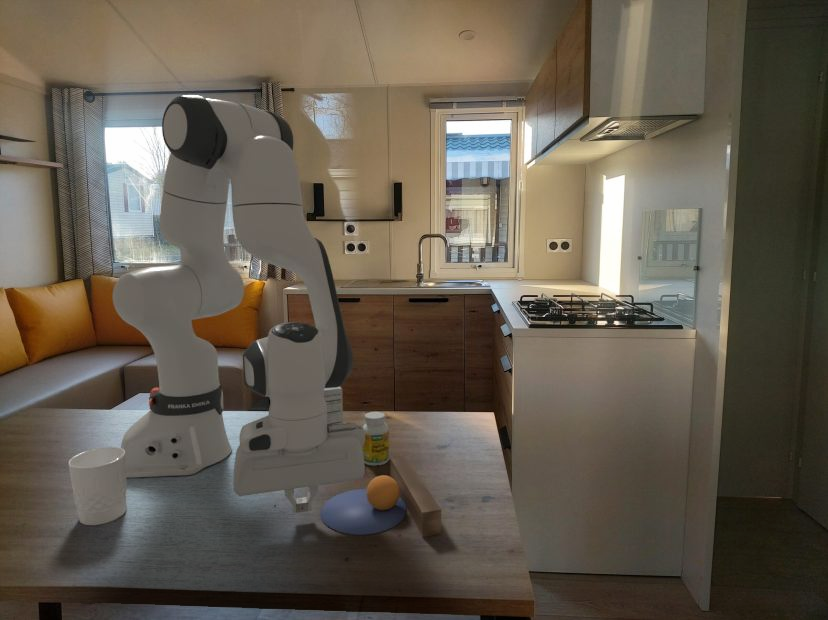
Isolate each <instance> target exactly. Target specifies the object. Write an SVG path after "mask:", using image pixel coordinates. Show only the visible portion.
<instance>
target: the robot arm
mask: <svg viewBox="0 0 828 620" xmlns="http://www.w3.org/2000/svg"><path fill="white" fill-rule="evenodd" d="M161 123H162V124H161V132H162V138H163V141H164V143H165V146H166V147H167V149H168V151H169V153H170V154H169V157H168V161H167V165H166V168H165V174H164V179H163V186H162V187H163V188H162V197H161V205H160V213H159V214H160V215H159V222H158V223H159V224H158V227H159V230H160V233H161V235H162V236H163V238H164V239H165V240H166V241H167V242H168V243H169V244H171V245H172V246H174V247H176V248H177V249H179V251H180V262H179V264H175V265H173V264H172V265H157V266H147V267H144V268H140V269H135V270H132V271H129V272H127V273H123V274H122V275H120V277H119V278H118V279H117V281H116V282H115V284H114V286H113V289H112V303H113V306H114V309H115V311H116V313H117V315H118V316H119V317H120V318H121V320H123V322H126V324H128V325H130V326H132V327H133V328H135V329H136V330H138V331H139V332H140V333H141V334H142V335H143V336H144V337H145V338H146V340H147V341H148V343H149V345H150V346H151V348H152V351H153V354H154V357H155V363H156V367H157V374H158V375H157V376H158V384H159V387H154V388H152V389H151V391H150V392H149V398H148V405H149V409H150V410H149V411H148V412H147V413H146V414H144V415H142V417H141V418H140V419H138V420H137V421H136V422H133V424H132V425H131V426H130V427H128V429H127V430H126V431H125V434H124V435H123V437H122V439H121V444H120V445H121V446H120V448H122V449H124V450H125V457H126V479H129V478H143V477H144V478H148V477H149V478H151V477H173V476H191V475H194V474H196V473H199V472H200V471H202V470H203V469H205V468H207V467H209V466H212V465H215V464H217V463H218V462H221V461H222V460H224V459H226V458H227V457H228V456H229V455H230V454H231V453H232V449H233V448H232V445H231V444H230V441H229V438H228V435H227V431H226V428H225V427H226V426H225V421H224V418H223V417H224V416H223V411H224V393H223V392H224V391H223V387H222V385H221V384H220V376H219V362H218V359H219V358H218V351H217V349H216V348H215V346H214V345H213V344H212V343H210V341H208V340H206V339H203V338H201V337H198V336H197V335H196V333H195V331H194V327H193V322H192V320H197V319H198V320H199V319H204V318H211V317H215V316H216V317H217V316H219V315H222V314H224V313H226V312H229V311H231V310H233V309H235V308H237V307H238V306H240V304H241V302H242V301H243V298H244V294H245V284H244V281H243V278H242V275H241V274H240V273H239V271H238V270H237V269H236V268H235V267H234V266H233V265H232V264H231V263H230V261H229V259H228V257H227V254H226V251H225V250H226V249H225V245H224V232H225V231H224V230H225V222H226V213H227V206H228V198H229V189H230V185H231V210H232V222H233V227H234V231H235V232H234V233H235V237H236V239H237V242H238V243H239V244H240V246H241V247H242V248H243V249H244V250H245V251H246V252H247V253H248V254H250V256H252V257H254V258H255V259H257V260H259V261H261V262H264V263H267V264H269V265H271V266H272V265H273V266H275V267H278V268H281V269H285V270H287V271H290V272H291V273H293V274H295V275H297V276H298V277H299V278H300V279H301V280H302V281H303V283H304V284H305V287H306V290H307V295H308V298H309V303H310V306H311V312H312V315H313V319H314V320H313V321H314V325H315V326H313V325H311V324H309V323H304V322H298V321H290V322H283V323H282V322H281V323H280V324H277V325H275V326H273V327H272V328H271V329H270V330H269V332H268V335H267V336H266V337H262V338H259V339H257V340H253V341H252V342H251V343H250V345H248V347H247V348H246V349H245V351H244V352H243V354H242V367H243V368H242V369H243V381H244V385H245V387H246V388H247V389H249V390H250V391H252V392H253V393H254V394H257V395H259V396H260V397H262V398H263V397H264V398H265V397H268V398H269V400H270V401H269V403H270V404H269V408H268V415H265V416H263V417H260V418H258V419H256V420H253V421H251V422H248V423H246V424H244V425H242V427H241V429H240V433H239V445H238V446H237V448H236V451H235V457H234V465H233V466H234V467H233V475H232V476H233V479H232V480H233V482H232V486H233V487H232V488H233V489H232V490H233V492H234V493H235V494H236V495H237V496H238V497H243V496H244V497H245V496H250V495H252V496H253V495H259V494H265V493H272V492H280V491H284V496H285V498H286V499H287V500H288V502H289V503H290V504H291V508H292V509H291V510H292V514H293V515H294V514H299V513H301V514H302V513H306V512H312V502H313V500H314V499H315V497H316V496H317V493H319V486H323V485H331V484H337V483H338V484H339V483H344V482H345V483H346V482H352V481H360V480H361V479H362V478H363V477H364V475H365V473H366V469H365V465H366V464H365V463H364V457H363V452H362V446H363V445H364V443H365V431H364V429H363V426H362V425H359V424H356V422H346V423H343V424H330V425H328V424H327V404H326V401H325V398H324V388H336V387H339V386H340V387H342V385H343V384H344V383H345V382H346V380H347V379H348V378H349V376H350V375H351V373H352V371H353V370H354V366H355V361H354V353H353V349H352V345H351V342H350V340H349V337H348V335H347V332H346V331H347V330H346V328H345V324H344V320H343V316H342V311H341V307H340V302H339V298H338V293H337V288H336V284H335V283H336V282H335V279H334V276H333V271H332V268H331V267H332V266H331V263H330V259H329V256H328V254H327V253H328V252H327V251H326V248H325V246H324V244H323V242H322V241H321V240H320V239H318V238H316V237H314V235H313V234H312V232H311V231H310V229H309V227H308V225H307V221H306V219H305V215H304V211H303V210H304V209H303V197H302V187H301V181H300V176H299V171H298V166H297V162H296V159H295V154H294V151H293V149H294V134H293V131H292V129H291V126H290V124H289V123H288V122H287V120H286V119H284V118H283V117H282V116H280V115H278V114H276V113H274V112H272V111H270V110H268V109H267V110H266V109H265V110H263V109H260V108H257V107H255V106H252V105H249V104H245V103H242V102H238V101H228V100H223V99H214V98H208V97H207V98H205V97H204V96H201V95H197V94H196V95H195V94H188V95H178V96H176V97H174V98H173V99H172V100H171V101H170V102H169V104H168V105H167V106H166V108H165V110H164V112H163V117H162V122H161ZM230 183H231V184H230ZM301 488H308V492H307V494H306V496H304V497H296V496H295V495H294V494H295V489H301Z"/></svg>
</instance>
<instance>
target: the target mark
mask: <svg viewBox="0 0 828 620" xmlns="http://www.w3.org/2000/svg"><path fill="white" fill-rule="evenodd" d="M406 514H407V508H406V505H405V503H404V502H403V500H402V499H401V497H399V499H398V501H397V503H396V504H395V505H394V506H393V507H392V508H390V509H388V510H378V509H376V508H374V507H372V506H371V504H370V503H369V501H368V499H367V488H359V489H357V488H356V489H351V490H348V491H344V492H341V493H339V494H336V495H334V496H332V497H331V498H329V499H328V500H327V501H325V503H324V504H323V506H322V508H321V511H320V518H321V520H323V521H322V522H323V524H325V526H326V527H328V526H329V527H330V528H329V527H328V528H329V529H331V528H332V529H331V530H333V529H334V530H333V531H335V530H336V532H338V533H341V534H346V535H354V536H363V535H364V536H366V535H367V536H368V535H374V534H378V533H382V532H385V531H388V530H390V529H392V528H394V527H395V526H397V525H398V524H400V523H401V522H402V521H403V520H404V518H405V516H406Z"/></svg>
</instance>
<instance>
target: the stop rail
mask: <svg viewBox="0 0 828 620" xmlns="http://www.w3.org/2000/svg"><path fill="white" fill-rule="evenodd" d="M389 464H390V465H389V466H390V467H389V468H390V469H389V470H390V472H389V474H390V475H389V477H391V478H393V479H394V480H395V481H396V482H397V484H398V486H399V490H400V495H399V498H401V499H402V500H403V502H404V503H405V505H406V511H407V512H408V513H409V515H410V517H411V518H412V520H413V523H414V524H415V526H416V528H417V530H418V532H419V534H420V535H421V537H422V538H425V537H426V538H427V537H430V536H437V535H442V509H441V507H440V506H439V504H438V502H437V501H436V500H435V498H434V496H433V494H432V493H431V492H430V490H429V489H428V487H427V485H426V484H425V483H424V481H423V480H422V478H421V477H420V475H419V474H418V472H417V471H416V469H415V467H414V465H413V464H412V462H410V460H409V459H408V457H407V455H401V456H399V455H398V456H392V457H390V456H389Z"/></svg>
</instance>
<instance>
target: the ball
mask: <svg viewBox="0 0 828 620" xmlns="http://www.w3.org/2000/svg"><path fill="white" fill-rule="evenodd" d="M366 489H367V499H368V501H369V503H370V504H371V506H372V507H374V508H376V509H378V510H388V509H390V508H392V507H393V506H394V505H395V504H396V503H397V501H398V499H399V498H400V490H399V486H398V484H397V482H396V481H395V480H394V479H393V478H391V477H390V475H386V474H385V475H384V474H382V475H379V476H375V477H374V478H373V479H371V480H370V482H369V483H368V485H367V487H366Z"/></svg>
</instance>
